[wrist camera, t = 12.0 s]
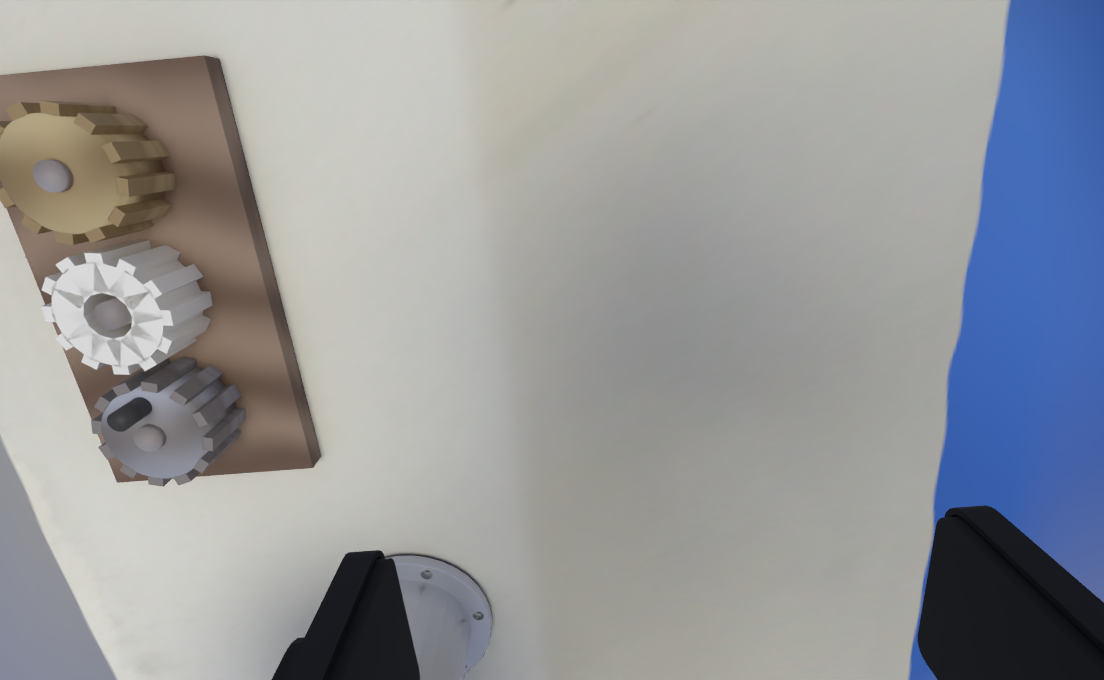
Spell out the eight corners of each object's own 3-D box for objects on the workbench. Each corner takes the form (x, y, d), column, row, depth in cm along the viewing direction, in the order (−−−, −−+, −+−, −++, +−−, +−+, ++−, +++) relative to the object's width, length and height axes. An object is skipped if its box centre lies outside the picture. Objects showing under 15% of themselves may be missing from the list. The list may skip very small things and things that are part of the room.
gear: (206, 362, 38) (168, 388, 34) (93, 332, 37) (41, 355, 33) (217, 259, 35) (177, 274, 31) (97, 225, 35) (41, 236, 31)
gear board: (321, 456, 42) (274, 522, 35) (131, 470, 42) (47, 539, 35) (219, 58, 33) (127, 39, 26) (-20, 81, 33) (-174, 69, 26)
